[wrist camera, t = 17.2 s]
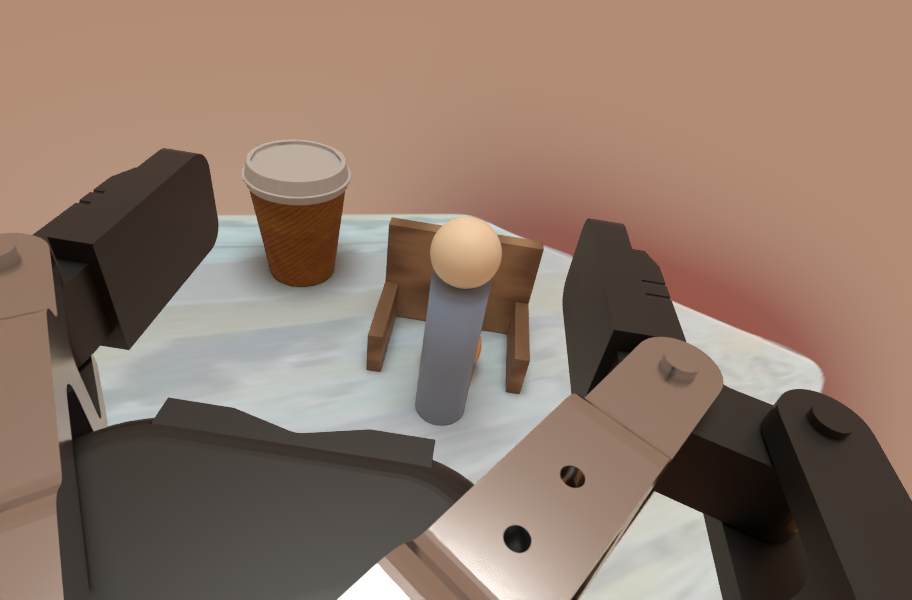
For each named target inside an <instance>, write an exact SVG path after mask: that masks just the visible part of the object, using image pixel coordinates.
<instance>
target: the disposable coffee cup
mask: <svg viewBox="0 0 912 600" xmlns="http://www.w3.org/2000/svg"><path fill="white" fill-rule="evenodd" d="M241 173H242V178H243V181H244V182H245V183H246V185H247V187H248V189H249V190H250V194H251V198H252V202H253V205H254V209H255V213H256V217H257V221H258V224H259V228H260V232H261V236H262V239H263V243H264V247H265V251H266V255H267V258H268V262H269V266H270V270H271V273H272V274H273V276H274V277H275V278H276V279H277V280H279V281H280V282H282V283H285V284H288V285H292V286H311V285H315V284H319V283H321V282H323V281H325V280H327V279H328V278H329V277H330V276H331V275H332V273H333V271H334V266H335V258H336V251H337V244H338V238H339V230H340V224H341V216H342V209H343V202H344V194H345V190H346V189H347V186H348V184H349V182H350V180H351V172H350V170H349V168H348V167H347V164H346V161H345V157H344V156H343V155H342V154H341V153H340V152H339V151H338V150H336V149H335V148H333V147H330V146H328V145H325V144H321V143H318V142H314V141H307V140H279V141H273V142H268V143H265V144H262V145H259V146H257V147H256V148H254V149H253V150H251V151H250V152H249V153H248V155H247V156H246V162H245V165H244V166H243V168H242V172H241Z"/></svg>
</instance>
